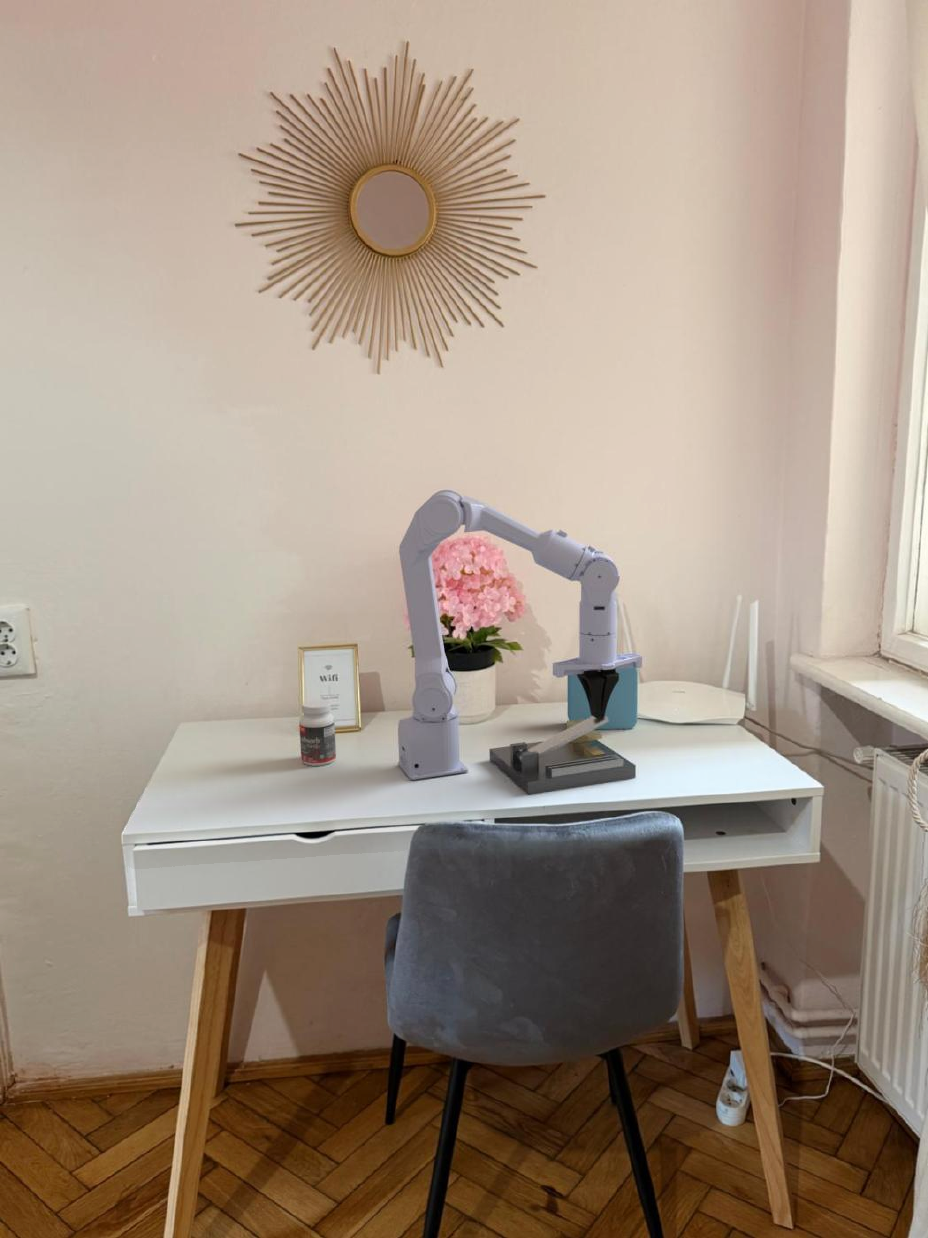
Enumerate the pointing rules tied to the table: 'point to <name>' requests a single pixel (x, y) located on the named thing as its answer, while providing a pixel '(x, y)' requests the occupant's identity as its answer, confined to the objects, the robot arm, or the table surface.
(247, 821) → the table surface
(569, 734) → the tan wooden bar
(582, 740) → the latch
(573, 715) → the data package
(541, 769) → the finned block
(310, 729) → the pill bottle
